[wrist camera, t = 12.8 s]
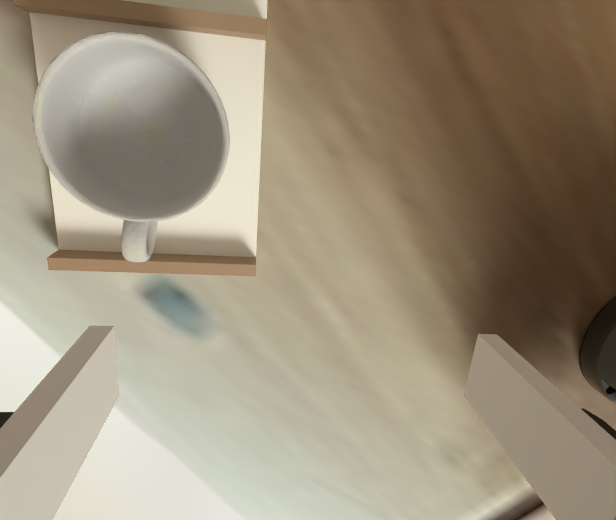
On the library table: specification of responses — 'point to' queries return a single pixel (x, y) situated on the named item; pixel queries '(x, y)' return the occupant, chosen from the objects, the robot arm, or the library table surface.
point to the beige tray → (241, 120)
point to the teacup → (131, 131)
